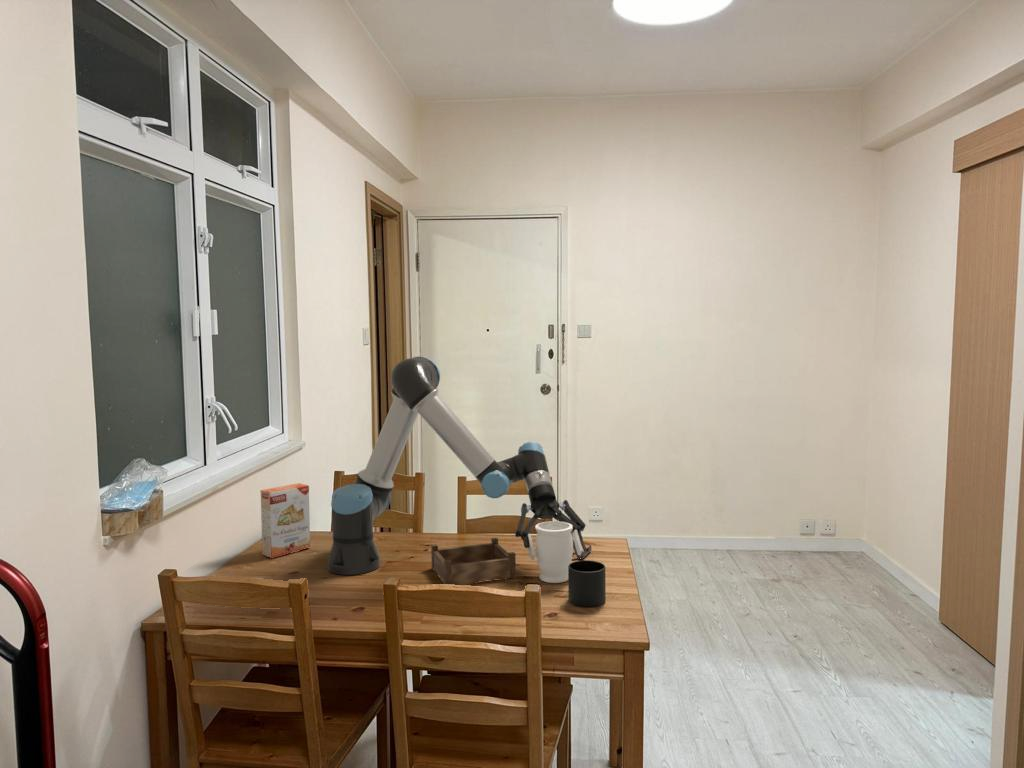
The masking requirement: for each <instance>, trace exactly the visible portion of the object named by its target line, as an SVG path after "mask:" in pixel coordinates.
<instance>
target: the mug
mask: <svg viewBox="0 0 1024 768" xmlns="http://www.w3.org/2000/svg"><path fill="white" fill-rule="evenodd" d="M606 580H607V579H606V565H605V564H604V563H602V562H600V561H595V560H587V559H586V560H585V559H582V560H577V561H573V562H572V561H571V563H570V564H569V566H568V580H567V581H568V584H567V585H568V589H567V590H568V592H567V593H568V601H569V603H570V604H572V605H574V606H577V607H583V608H595V607H599V606H601V605H603V604H605V602H606V601H607V599H606V594H607V593H606V589H607V588H606V587H607V586H606V583H607V581H606Z"/></svg>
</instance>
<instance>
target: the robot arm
mask: <svg viewBox="0 0 1024 768" xmlns="http://www.w3.org/2000/svg"><path fill="white" fill-rule="evenodd" d="M440 380H441V372H440V369H439V367H438V365H437V364H436V363H435V361H433V360H432V359H430V358H428V357H424V356H413V357H410V358H404V359H402V360H401V361H399V362H397V364H396V365H395V366H394V367H393V369H392V371H391V375H390V384H391V386H392V389H391V392H390V393H391V396H392V398H393V401H392V403H391V405H390V408H389V410H388V412H387V415H386V418H385V420H384V422H383V425H382V428H381V429H380V432H379V434H378V436H377V439H376V442H375V444H374V447H373V448H372V449H373V450H372V452H371V454H370V458H369V459H368V462H367V464H366V466H365V468H364V469H361V470H360V471H358V473H357V476H356V478H355V480H354V483H352V484H346V485H344V486H340V487H337V488H336V489H335V490H334V491H333V492H332V495H331V502H330V507H331V523H332V524H331V525H332V527H331V528H332V545H331V548H330V552H329V556H328V559H327V570H328V572H330V573H332V574H336V575H342V576H350V575H351V576H353V575H362V574H367V573H369V572H373V571H374V570H375V571H376V570H377V569H379V567H380V566H381V557H380V553H379V551H378V548H377V545H376V543H375V540H374V520H375V519H377V518H378V517H380V516H381V515H382V514H383V513H385V511H386V510H387V509H388V507H389V505H390V504H391V503H390V502H391V497H392V491H393V488H394V486H395V484H394V481H393V479H392V478H393V476H394V474H395V471H396V470H397V469H396V468H397V466H398V463H399V461H400V459H401V456H402V454H403V452H404V449H405V446H406V444H407V442H408V440H409V438H410V435H411V432H412V430H413V427H414V425H415V422H416V420H417V418H418V416H419V415H420V416H421V417H422V419H423V420H424V422H426V423H427V424H428V425H429V426H430V428H431V429H432V430H433V431H434V432H435V433H436V434H437V436H438V437H439V438H440V439H441V440H442V441H443V443H444V444H446V446H447V447H448V448H449V449H450V451H451V452H453V454H454V455H455V456H456V458H458V459H459V461H460V462H462V464H463V466H465V468H466V469H467V470H469V472H470V473H471V474H472V475H473V477H474V478H475V479H476V480H477V482H478V483H480V485H481V490H482V492H483V493H484V494H485V495H486V497H488V498H491V499H499V498H502V497H503V496H505V495H506V494H507V492H508V491H509V489H510V487H511V485H512V484H515V483H517V482H520V481H523V480H524V482H525V485H526V490H527V494H528V498H529V503H530V504H527V503H525V502H524V503H522V505H521V508H520V512H521V513H520V518H519V521H518V525H517V528H516V530H515V533H514V536H515V537H516V538H519V537H520V538H521V540H522V541H523V546H524V548H525V549H528V554H529V557H530V561H533V560H535V557H536V550H535V547H534V543H533V539H532V535H531V533H530V532H531V530H532V529H533V527H534V526H535V525H536V522H537V521H538V520H539V519H540V520H546V519H548V520H551V519H554V520H555V521H560V522H566V523H570V524H571V525H572V526H573V530H572V531H573V534H572V535H573V537H572V538H573V540H574V543H575V546H576V550H577V554H578V555H581V554H582V553H583V552H584V550H583V548H582V545H581V542H582V540H583V541H584V539H583V535H582V532H583V531H584V530H585V528H586V526H587V525H586V524H585V522H584V521H583V520H582V519H581V518H580V516H579V515H578V514H577V513H576V511H574V510H573V508H572V507H571V506H570V504H569V501H568V500H566V499H565V500H563V502H558V501H557V497H556V493H555V490H554V487H553V482H552V478H551V475H550V470H549V467H548V463H547V459H546V457H547V456H546V455H545V453H544V450H543V446H542V445H541V444H540V443H538V442H536V441H528V442H524V443H523V444H522V445H520V446H519V448H518V450H517V452H518V453H517V454H515V455H514V456H512V457H508V458H505V459H503V460H501V461H496V460H495V458H494V457H493V456H492V455H491V454H490V452H488V451H487V449H486V448H485V447H484V445H482V444H481V442H480V441H479V440H478V439H477V437H475V435H474V434H473V433H472V431H470V430H469V428H468V427H467V426H466V425H465V424H464V423H463V422H462V421H461V420H460V418H459V417H458V416H457V414H455V413H454V411H453V410H452V409H451V408H450V407H449V406H448V404H447V403H446V402H445V401H444V400H443V399H442V398H441V397H440V395H439V393H438V392H439V389H438V386H439V384H440V382H441V381H440ZM559 508H560V509H559ZM530 511H531V512H532V513H533V514H534V515H533V516H532V517H531V519H530V520H529V522H528V524H527V525H526V527H525V528H524V530H522V529H523V526H524V522H525V520H526V519H525V518H526V515H527V514H528V513H529V512H530ZM562 511H563V512H564V513H563V512H562Z"/></svg>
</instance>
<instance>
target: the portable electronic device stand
mask: <svg viewBox="0 0 1024 768" xmlns="http://www.w3.org/2000/svg"><path fill="white" fill-rule="evenodd" d="M571 534H573V531H571ZM572 539H573V535H572ZM581 546H582V549H583V551H582V553H581V555H578V554H577V550H576V546H575V543H574V539H573V552H574V554H575V556H576V558H577V560H579V559H580V558H581V560H580V561H583V560H584V558H585V557H587V556H588V555H589V554H590V553H591V552H592V545H588V547H586V544H585V542H584V539H583V540H582V542H581Z"/></svg>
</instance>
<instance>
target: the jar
mask: <svg viewBox="0 0 1024 768" xmlns="http://www.w3.org/2000/svg"><path fill="white" fill-rule="evenodd" d="M534 526H535V527H534V528H535V530H536V531H535V532H536V538H535V547H534V548H535V557H536V561H537V562H536V563H537V567H538V569H539V571H540V574H539V579H540V580H541V581H543V582H545V583H548V584H560V583H564V582H567V581H568V566H569V564H570V563H572V559H573V553H574V549H573V540H574V539H572V538H573V537H572V534H571V531H572V530H573V526H572V525H571V524H570V523H566V522H560V521H559V520H552V521H542V522H539V523H537V524H535V525H534Z"/></svg>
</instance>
